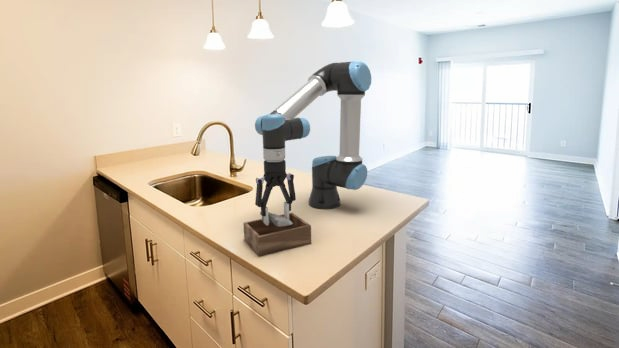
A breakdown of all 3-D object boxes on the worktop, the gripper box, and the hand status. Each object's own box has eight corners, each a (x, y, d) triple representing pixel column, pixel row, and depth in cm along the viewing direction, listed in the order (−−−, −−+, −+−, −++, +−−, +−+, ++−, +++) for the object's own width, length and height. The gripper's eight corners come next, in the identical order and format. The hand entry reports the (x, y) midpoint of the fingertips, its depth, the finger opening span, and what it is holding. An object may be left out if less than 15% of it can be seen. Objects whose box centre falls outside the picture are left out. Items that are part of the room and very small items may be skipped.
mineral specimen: (273, 218, 132) (272, 207, 132) (294, 224, 124) (293, 213, 123) (259, 222, 128) (258, 211, 127) (280, 229, 119) (279, 217, 119)
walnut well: (244, 240, 129) (243, 222, 128) (292, 229, 139) (292, 212, 137) (259, 256, 117) (258, 237, 115) (311, 243, 126) (311, 225, 124)
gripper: (250, 165, 112) (253, 231, 118) (305, 158, 122) (306, 219, 127) (242, 161, 118) (246, 223, 124) (295, 155, 128) (296, 213, 134)
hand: (276, 221), depth 126 cm, fingers closed on mineral specimen, 7 cm apart
